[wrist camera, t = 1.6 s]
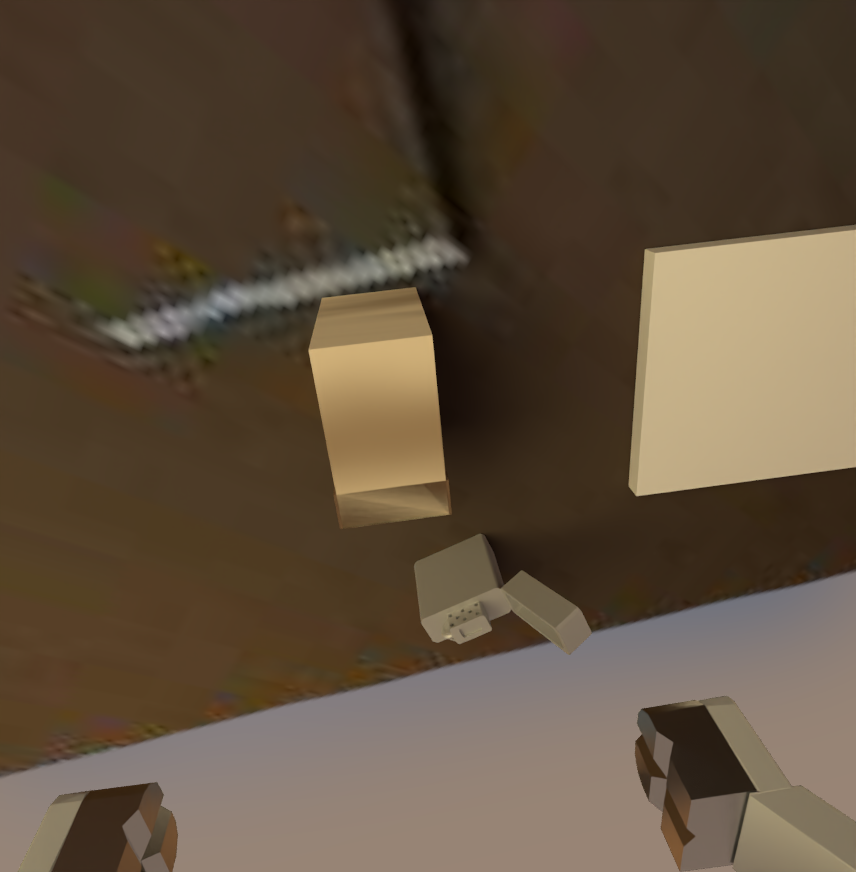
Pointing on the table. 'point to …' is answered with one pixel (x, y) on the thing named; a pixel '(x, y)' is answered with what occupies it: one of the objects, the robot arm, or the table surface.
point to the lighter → (489, 598)
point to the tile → (745, 361)
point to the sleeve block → (380, 407)
